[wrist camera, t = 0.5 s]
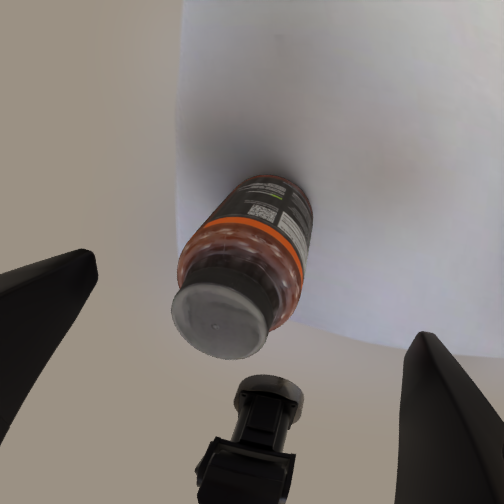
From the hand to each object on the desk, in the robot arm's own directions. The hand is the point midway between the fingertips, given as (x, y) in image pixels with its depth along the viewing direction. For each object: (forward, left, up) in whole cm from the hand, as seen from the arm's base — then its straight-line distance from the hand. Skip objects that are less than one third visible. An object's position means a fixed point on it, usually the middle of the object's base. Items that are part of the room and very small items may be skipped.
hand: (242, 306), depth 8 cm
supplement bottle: (-4, +2, -14) cm, 15 cm away
